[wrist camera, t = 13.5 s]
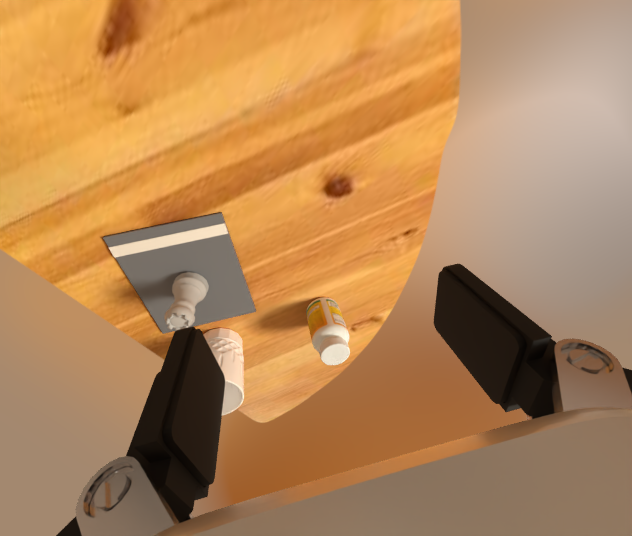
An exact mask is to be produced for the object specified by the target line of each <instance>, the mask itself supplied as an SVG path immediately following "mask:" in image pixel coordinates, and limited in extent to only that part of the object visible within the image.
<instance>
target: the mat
mask: <svg viewBox="0 0 632 536" xmlns="http://www.w3.org/2000/svg"><path fill="white" fill-rule="evenodd" d="M103 239H104V241H105V242H106V244H107V245H108V247H109V250H110V251H111V253H112V254H113V256H114V258H116V260H117V261H118V263H119V265H120V266H121V268H122V269H123V271H124V272H125V274H126V276H127V277H128V279H129V280H130V282H131V284H132V285H133V287H134V288H135V290H136V292H137V293H138V295H139V296H140V298H141V300H142V301H143V303H144V304H145V306H146V307H147V309H148V311H149V312H150V314H151V315H152V317H153V319H154V320H155V322H156V323H157V325H158V327H159V328H160V330H161V331H162V333H163V334H164V333H168V332H172V331H175V330H176V329H174V328H172V329H171V330H170V329H168V328H167V327H168V324H166V321H165V319H164V315H165V313H166V312H167V310H169V309H170V306H171V305H172V303H174V300H175V297H174V295H173V293H172V285H173V284H174V280H175V278H176V277H177V276H179V275H180V274H182V273H187V272H191V273H197V274H199V275H201V276H203V277H204V278H205V279H206V280H207V283H208V285H209V287H208V292H207V295H206V296H205V297H204V299H203V300H202V301H200V302H199V303H197V304H196V306H195V314H194V316H195V322H194V323H193V324H192V325H191V326H190V327H193V326H197V325H202V324H206V323H210V322H214V321H219V320H223V319H227V318H231V317H236V316H240V315H244V314H248V313H253V312H256V309H255V306H254V303H253V300H252V297H251V295H250V292H249V289H248V286H247V283H246V280H245V278H244V275H243V272H242V269H241V266H240V263H239V260H238V258H237V255H236V252H235V249H234V246H233V243H232V241H231V238H230V235H229V232H228V229H227V226H226V224H225V221H224V218H223V215H222V212H220V213H215V214H210V215H205V216H201V217H196V218H191V219H186V220H181V221H176V222H171V223H167V224H162V225H157V226H152V227H147V228H142V229H138V230H133V231H128V232H123V233H118V234H113V235H109V236H104V237H103Z"/></svg>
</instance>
